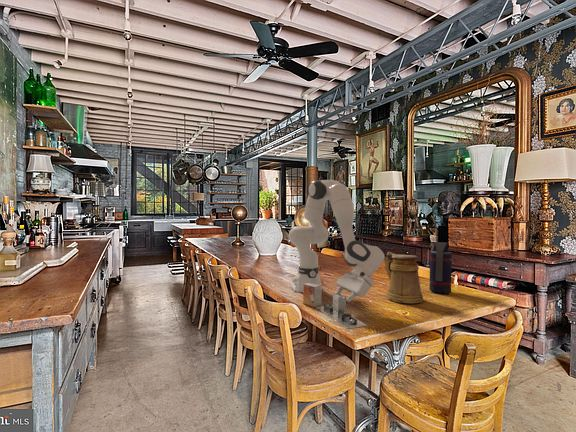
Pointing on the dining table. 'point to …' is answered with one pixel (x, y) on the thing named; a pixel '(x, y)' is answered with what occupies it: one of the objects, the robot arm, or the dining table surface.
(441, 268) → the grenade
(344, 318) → the grey long flat board
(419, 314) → the dining table surface
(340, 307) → the mini drawer chest
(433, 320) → the dining table surface
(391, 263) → the tankard
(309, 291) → the small box
